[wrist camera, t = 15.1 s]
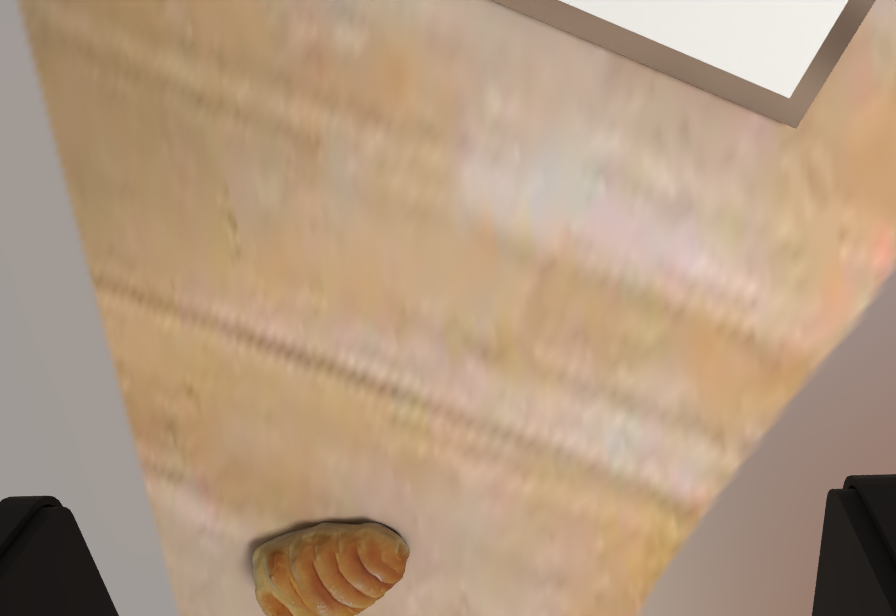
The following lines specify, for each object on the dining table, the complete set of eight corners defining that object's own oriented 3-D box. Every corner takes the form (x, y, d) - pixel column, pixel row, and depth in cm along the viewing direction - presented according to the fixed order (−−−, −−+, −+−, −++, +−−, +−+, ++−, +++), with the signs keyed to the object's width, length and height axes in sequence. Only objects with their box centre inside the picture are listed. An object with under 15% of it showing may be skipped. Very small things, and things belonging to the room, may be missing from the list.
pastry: (375, 490, 47) (362, 538, 43) (433, 566, 49) (425, 617, 46) (249, 540, 50) (228, 588, 46) (310, 609, 52) (295, 660, 49)
